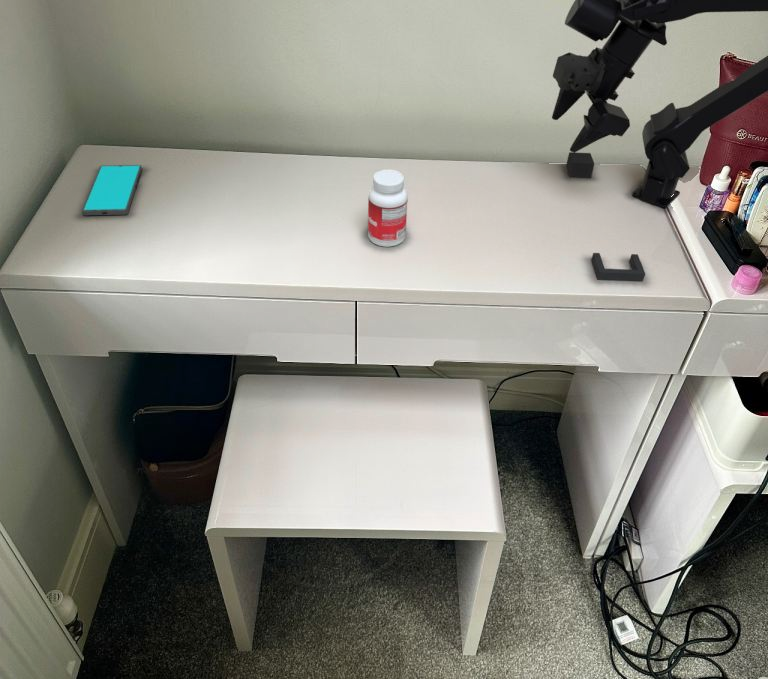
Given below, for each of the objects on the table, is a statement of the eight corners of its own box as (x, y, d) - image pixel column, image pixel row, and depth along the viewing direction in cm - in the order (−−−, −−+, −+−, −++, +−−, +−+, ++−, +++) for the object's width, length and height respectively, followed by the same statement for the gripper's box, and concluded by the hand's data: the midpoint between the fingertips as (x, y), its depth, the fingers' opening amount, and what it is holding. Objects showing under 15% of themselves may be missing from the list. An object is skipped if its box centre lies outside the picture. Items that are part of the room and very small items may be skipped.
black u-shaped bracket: (591, 260, 112) (593, 252, 111) (635, 261, 112) (637, 254, 111) (597, 279, 108) (599, 272, 107) (642, 281, 108) (645, 273, 107)
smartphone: (81, 211, 116) (100, 165, 127) (82, 215, 117) (101, 169, 128) (127, 210, 117) (142, 164, 128) (128, 214, 117) (143, 169, 128)
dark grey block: (565, 166, 133) (569, 152, 131) (586, 167, 133) (590, 152, 131) (569, 177, 130) (572, 162, 128) (590, 178, 130) (594, 163, 128)
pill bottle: (366, 226, 117) (367, 167, 109) (403, 225, 117) (406, 166, 110) (369, 248, 112) (370, 188, 105) (407, 247, 113) (411, 187, 105)
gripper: (559, 9, 114) (508, 92, 124) (602, 73, 102) (542, 158, 113) (611, 30, 118) (558, 108, 129) (658, 93, 107) (596, 173, 118)
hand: (562, 134), depth 122 cm, fingers open, 9 cm apart
